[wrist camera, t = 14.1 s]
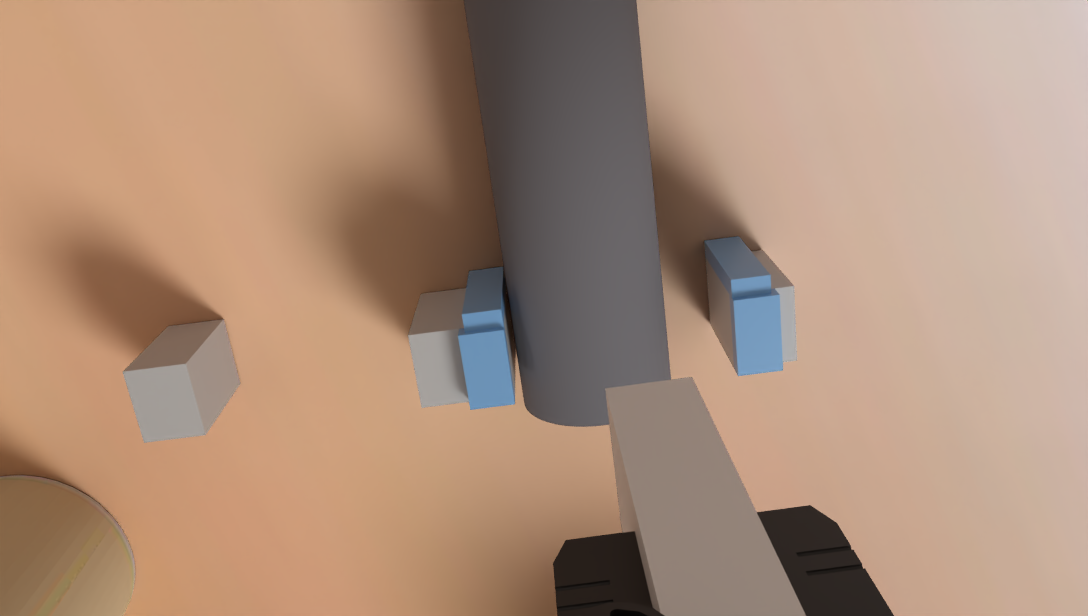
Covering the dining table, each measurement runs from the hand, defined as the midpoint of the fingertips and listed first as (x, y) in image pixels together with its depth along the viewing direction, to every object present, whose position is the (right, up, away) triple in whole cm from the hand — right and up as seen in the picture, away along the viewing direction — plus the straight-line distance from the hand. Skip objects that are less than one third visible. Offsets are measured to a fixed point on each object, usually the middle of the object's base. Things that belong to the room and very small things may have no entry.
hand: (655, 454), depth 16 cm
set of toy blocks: (-5, +2, +17) cm, 18 cm away
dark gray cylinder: (-1, +9, +15) cm, 17 cm away
